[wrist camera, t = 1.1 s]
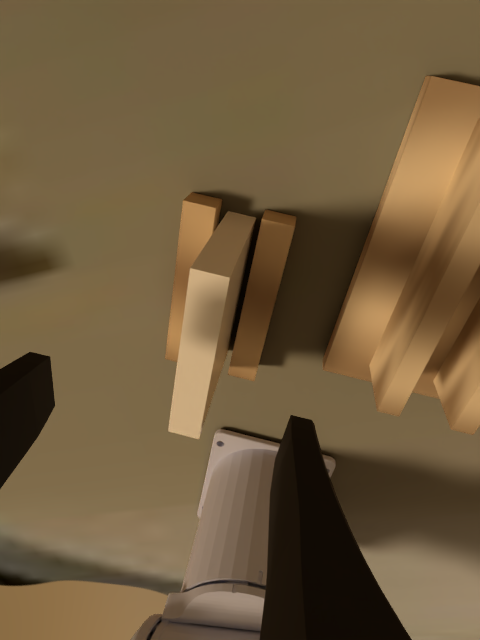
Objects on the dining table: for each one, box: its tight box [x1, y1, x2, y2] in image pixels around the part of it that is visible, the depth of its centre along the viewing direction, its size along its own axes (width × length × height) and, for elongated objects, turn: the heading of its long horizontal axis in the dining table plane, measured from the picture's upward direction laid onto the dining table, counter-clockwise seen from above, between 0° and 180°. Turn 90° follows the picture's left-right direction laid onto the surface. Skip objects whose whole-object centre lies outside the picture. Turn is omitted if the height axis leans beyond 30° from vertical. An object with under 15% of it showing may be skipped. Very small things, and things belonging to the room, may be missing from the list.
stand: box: [165, 192, 296, 381], centre depth 22 cm, size 9×5×2 cm, turn 169°
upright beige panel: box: [168, 211, 256, 439], centre depth 19 cm, size 8×1×7 cm, turn 169°
